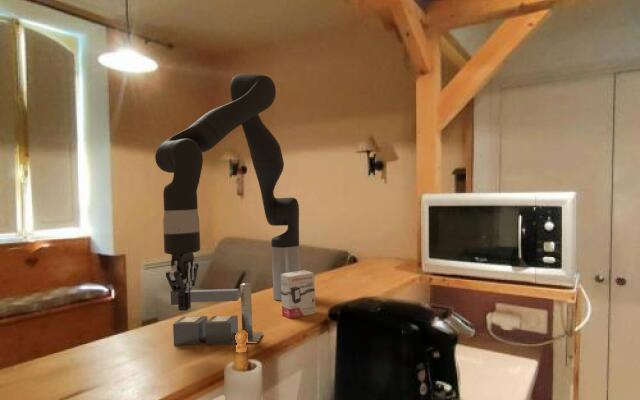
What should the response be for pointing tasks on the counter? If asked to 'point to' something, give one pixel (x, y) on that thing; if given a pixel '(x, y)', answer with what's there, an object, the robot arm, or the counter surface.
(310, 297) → the ink box
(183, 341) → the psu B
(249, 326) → the post
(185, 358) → the counter surface
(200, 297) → the bar
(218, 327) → the block
